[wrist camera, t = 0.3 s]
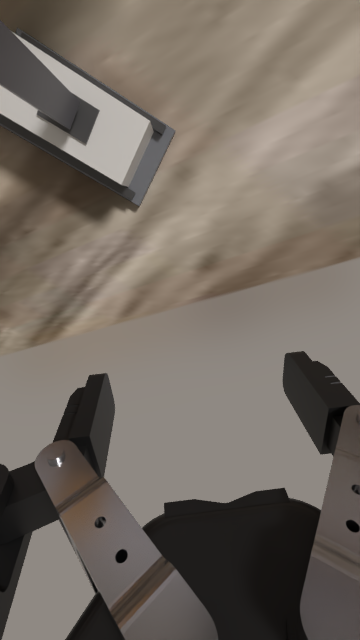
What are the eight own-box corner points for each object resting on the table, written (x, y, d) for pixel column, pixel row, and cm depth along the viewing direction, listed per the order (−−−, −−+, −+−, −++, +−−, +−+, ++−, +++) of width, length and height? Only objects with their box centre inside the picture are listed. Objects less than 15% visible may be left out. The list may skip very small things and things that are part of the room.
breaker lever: (86, 101, 27) (-142, -153, 8) (73, 136, 28) (-159, -8, 9) (55, 81, 27) (-278, -247, 7) (43, 118, 28) (-279, -81, 8)
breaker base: (175, 132, 34) (174, 118, 28) (140, 206, 37) (133, 207, 31) (21, 32, 31) (-14, -7, 25) (-4, 122, 34) (-42, 105, 28)
